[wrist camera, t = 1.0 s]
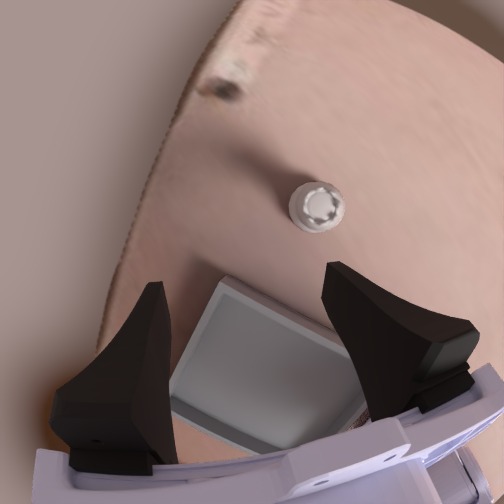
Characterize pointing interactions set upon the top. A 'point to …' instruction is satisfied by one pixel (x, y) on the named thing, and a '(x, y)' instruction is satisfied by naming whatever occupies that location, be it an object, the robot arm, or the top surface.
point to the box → (263, 375)
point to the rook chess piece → (316, 207)
